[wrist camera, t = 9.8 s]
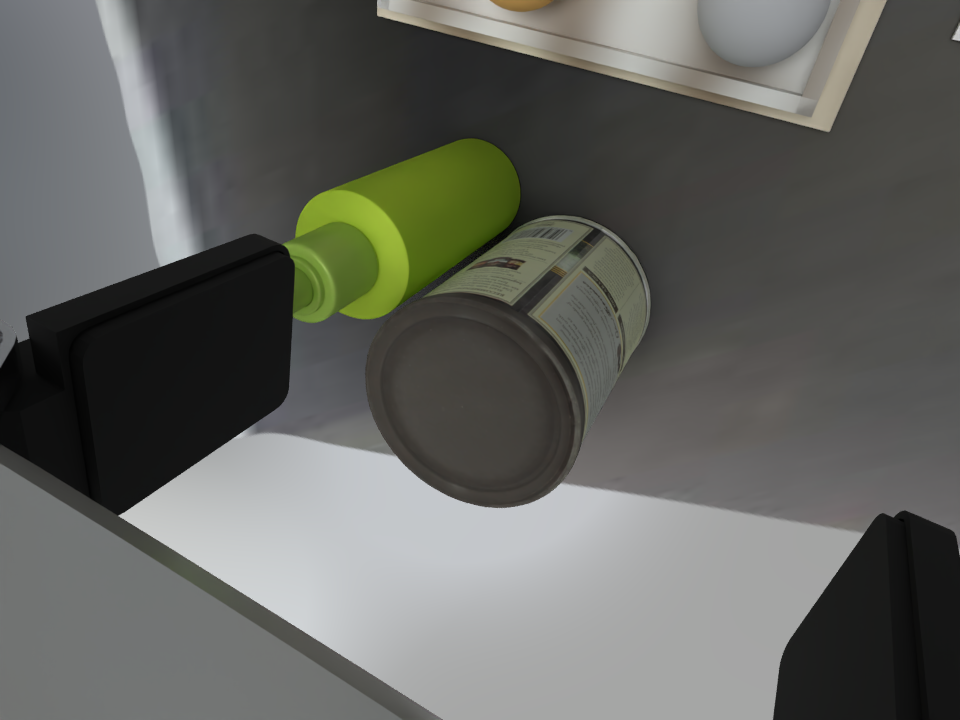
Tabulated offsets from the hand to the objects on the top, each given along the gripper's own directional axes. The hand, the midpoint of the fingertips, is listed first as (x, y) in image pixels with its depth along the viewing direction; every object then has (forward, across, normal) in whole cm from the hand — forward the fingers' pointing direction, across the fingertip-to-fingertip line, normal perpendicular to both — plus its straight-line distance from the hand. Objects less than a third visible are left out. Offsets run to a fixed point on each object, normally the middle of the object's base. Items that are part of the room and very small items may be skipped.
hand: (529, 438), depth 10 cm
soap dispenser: (+28, +14, +7) cm, 33 cm away
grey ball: (+27, +2, -6) cm, 28 cm away
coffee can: (+28, +7, +11) cm, 31 cm away
